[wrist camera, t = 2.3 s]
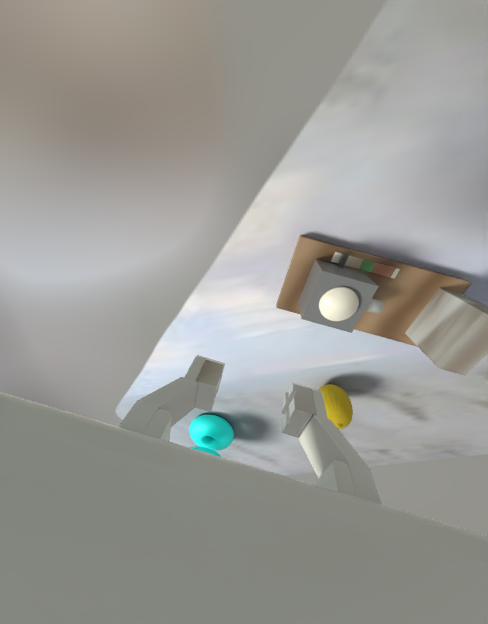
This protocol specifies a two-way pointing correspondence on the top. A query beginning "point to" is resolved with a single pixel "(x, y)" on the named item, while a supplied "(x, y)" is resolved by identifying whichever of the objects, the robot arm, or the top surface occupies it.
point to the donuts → (211, 433)
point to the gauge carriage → (337, 295)
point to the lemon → (337, 405)
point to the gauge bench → (404, 304)
